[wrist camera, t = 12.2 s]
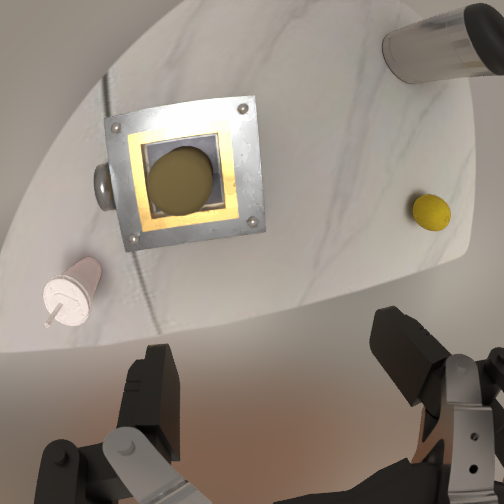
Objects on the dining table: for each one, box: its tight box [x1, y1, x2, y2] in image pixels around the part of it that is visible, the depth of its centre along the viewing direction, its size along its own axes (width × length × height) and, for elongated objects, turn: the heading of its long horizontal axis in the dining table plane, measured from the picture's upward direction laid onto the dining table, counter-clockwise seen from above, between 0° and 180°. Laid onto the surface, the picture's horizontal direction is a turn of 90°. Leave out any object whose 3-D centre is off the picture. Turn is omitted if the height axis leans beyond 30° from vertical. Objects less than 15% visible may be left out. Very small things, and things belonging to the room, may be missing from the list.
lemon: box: [413, 194, 451, 231], centre depth 37 cm, size 6×6×8 cm
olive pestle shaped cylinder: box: [147, 146, 213, 216], centre depth 25 cm, size 6×6×11 cm
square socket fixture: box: [94, 96, 266, 252], centre depth 30 cm, size 19×16×6 cm
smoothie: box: [43, 257, 102, 327], centre depth 29 cm, size 6×6×14 cm
